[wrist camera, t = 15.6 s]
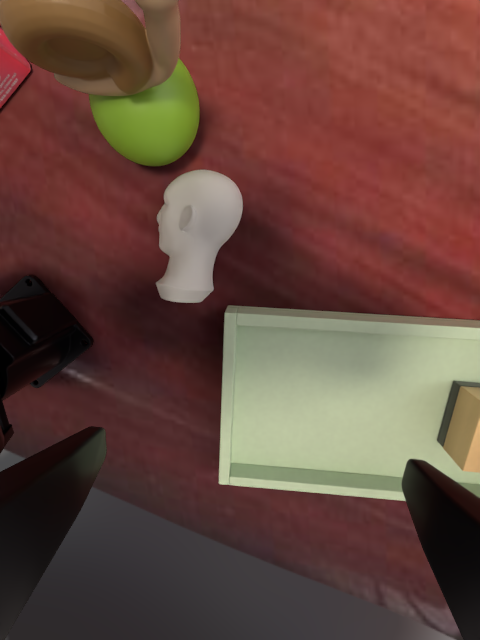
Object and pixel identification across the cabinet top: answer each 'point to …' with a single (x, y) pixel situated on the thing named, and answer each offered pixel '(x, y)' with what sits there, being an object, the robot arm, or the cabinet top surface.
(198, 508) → the cabinet top surface
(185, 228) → the mannequin head
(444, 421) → the rubber stamp
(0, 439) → the robot arm
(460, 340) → the tray
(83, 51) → the snail figurine
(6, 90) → the ink box
